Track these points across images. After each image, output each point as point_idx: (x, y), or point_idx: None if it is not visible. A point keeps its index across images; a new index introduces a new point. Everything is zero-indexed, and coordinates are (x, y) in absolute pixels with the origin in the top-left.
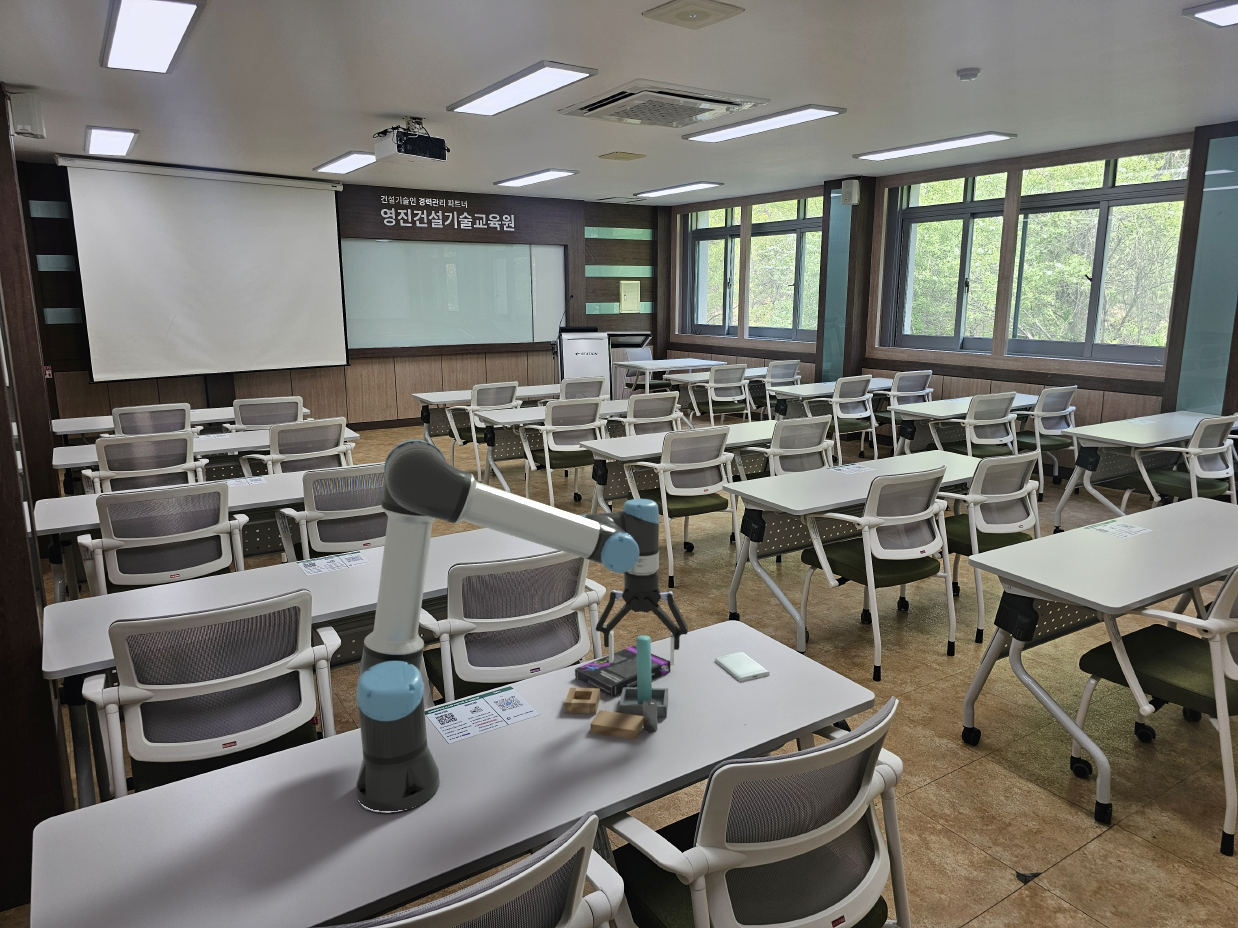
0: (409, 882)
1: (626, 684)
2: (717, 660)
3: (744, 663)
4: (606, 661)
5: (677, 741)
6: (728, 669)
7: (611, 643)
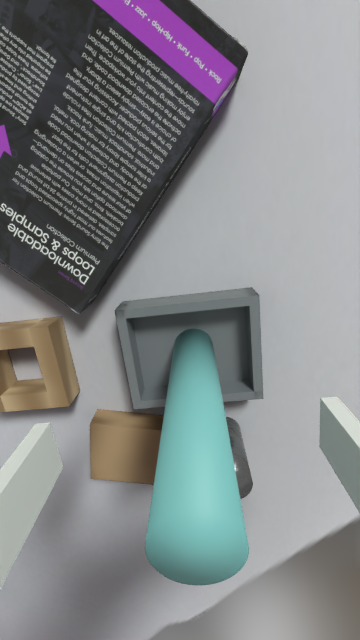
0: None
1: (115, 262)
2: None
3: None
4: None
5: (289, 467)
6: None
7: (9, 563)
